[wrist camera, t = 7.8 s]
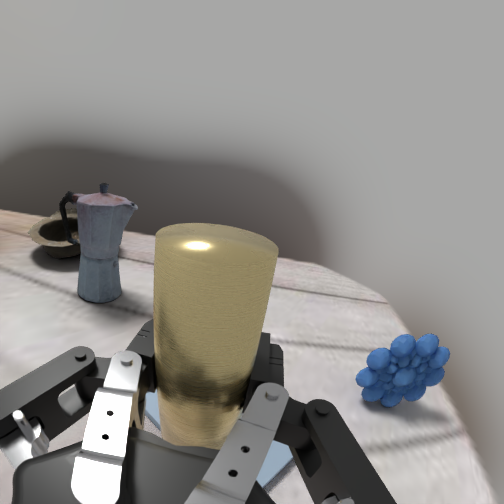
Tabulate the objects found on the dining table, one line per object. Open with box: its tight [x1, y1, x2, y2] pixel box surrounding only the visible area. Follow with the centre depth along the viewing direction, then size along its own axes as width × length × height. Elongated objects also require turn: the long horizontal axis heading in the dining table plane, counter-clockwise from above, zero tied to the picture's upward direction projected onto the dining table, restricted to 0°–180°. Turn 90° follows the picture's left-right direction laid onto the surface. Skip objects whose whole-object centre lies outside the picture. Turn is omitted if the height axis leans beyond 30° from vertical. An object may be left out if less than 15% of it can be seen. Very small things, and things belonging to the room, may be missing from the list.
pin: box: [154, 223, 278, 450], centre depth 11 cm, size 4×4×14 cm
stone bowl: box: [28, 208, 81, 259], centre depth 60 cm, size 25×25×9 cm
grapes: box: [356, 334, 450, 407], centre depth 29 cm, size 12×7×12 cm, turn 70°
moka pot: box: [60, 183, 138, 303], centre depth 43 cm, size 10×15×20 cm, turn 102°
